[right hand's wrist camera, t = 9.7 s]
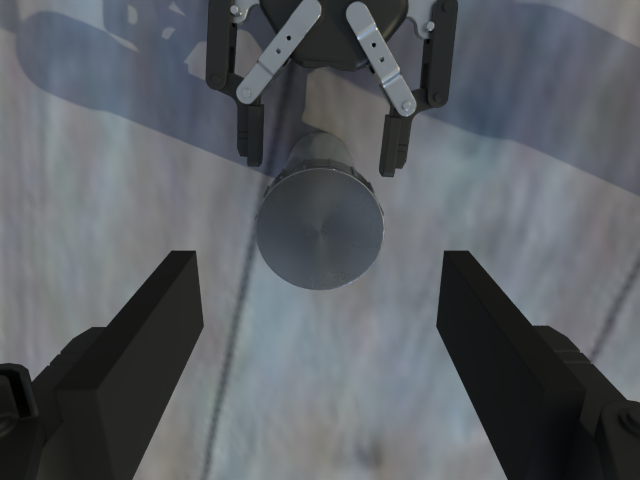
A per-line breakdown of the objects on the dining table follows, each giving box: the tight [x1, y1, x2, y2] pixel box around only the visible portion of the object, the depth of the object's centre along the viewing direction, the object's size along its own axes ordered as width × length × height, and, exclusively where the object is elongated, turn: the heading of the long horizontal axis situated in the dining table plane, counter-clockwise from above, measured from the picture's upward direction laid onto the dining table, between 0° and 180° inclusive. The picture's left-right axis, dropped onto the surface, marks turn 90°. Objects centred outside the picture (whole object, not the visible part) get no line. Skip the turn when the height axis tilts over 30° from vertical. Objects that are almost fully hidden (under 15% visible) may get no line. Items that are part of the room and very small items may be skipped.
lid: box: [255, 158, 385, 290], centre depth 21 cm, size 6×6×2 cm
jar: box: [284, 132, 357, 171], centre depth 27 cm, size 5×5×16 cm
